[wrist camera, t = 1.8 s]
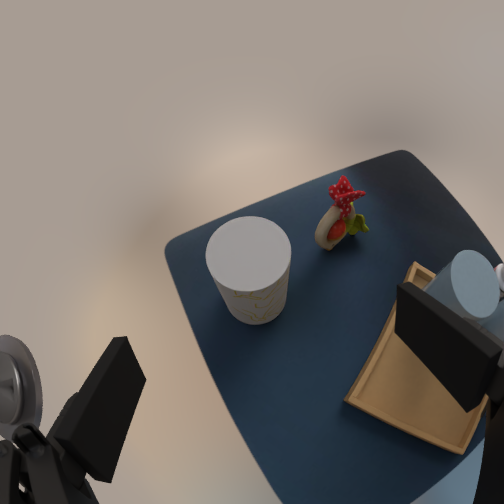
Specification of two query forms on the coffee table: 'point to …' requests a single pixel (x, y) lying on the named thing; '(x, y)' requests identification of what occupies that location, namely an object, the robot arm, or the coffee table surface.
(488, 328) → the grey-blue cylinder
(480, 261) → the slate blue cylinder
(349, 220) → the bird rattle
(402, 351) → the tray
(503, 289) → the pill bottle
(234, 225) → the light grey cylinder
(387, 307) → the coffee table surface
